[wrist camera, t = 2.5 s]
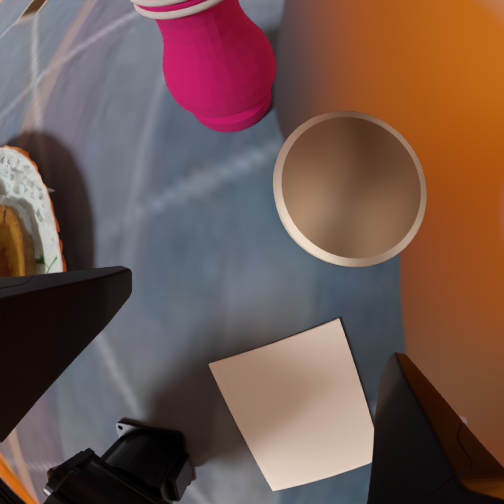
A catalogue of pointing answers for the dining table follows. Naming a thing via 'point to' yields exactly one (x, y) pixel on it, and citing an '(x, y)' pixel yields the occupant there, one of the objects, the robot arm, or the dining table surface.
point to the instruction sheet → (299, 406)
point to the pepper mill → (214, 60)
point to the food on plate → (26, 219)
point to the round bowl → (349, 189)
